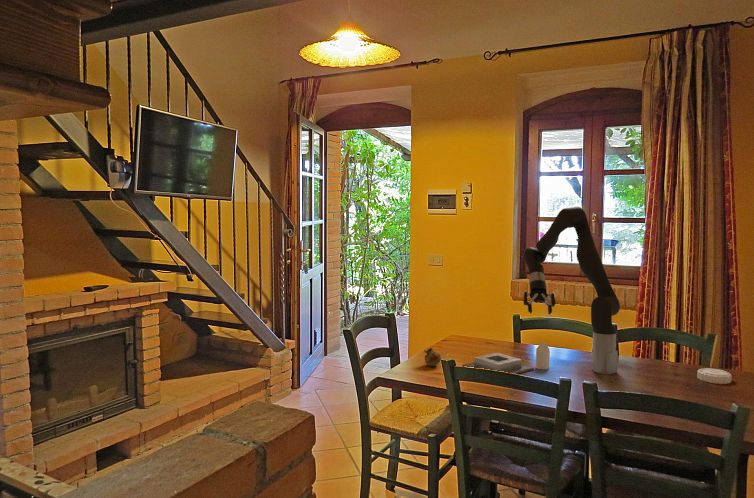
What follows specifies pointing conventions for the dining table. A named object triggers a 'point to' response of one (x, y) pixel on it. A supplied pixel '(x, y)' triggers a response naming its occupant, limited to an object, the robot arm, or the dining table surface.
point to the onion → (432, 357)
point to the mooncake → (714, 375)
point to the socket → (499, 363)
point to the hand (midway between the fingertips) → (540, 313)
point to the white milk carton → (542, 356)
